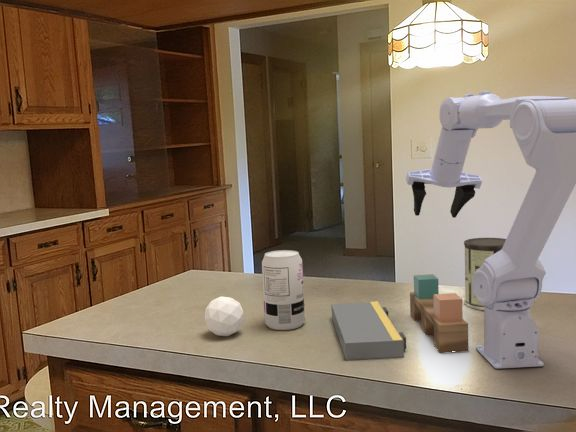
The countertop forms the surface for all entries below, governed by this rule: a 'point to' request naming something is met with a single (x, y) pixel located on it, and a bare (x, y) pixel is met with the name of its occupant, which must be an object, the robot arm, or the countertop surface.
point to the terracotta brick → (448, 307)
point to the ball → (224, 316)
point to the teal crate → (425, 286)
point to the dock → (367, 331)
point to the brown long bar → (439, 326)
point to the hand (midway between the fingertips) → (434, 213)
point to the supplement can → (283, 290)
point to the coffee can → (477, 263)
